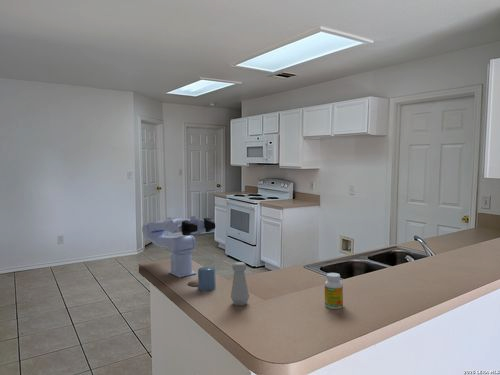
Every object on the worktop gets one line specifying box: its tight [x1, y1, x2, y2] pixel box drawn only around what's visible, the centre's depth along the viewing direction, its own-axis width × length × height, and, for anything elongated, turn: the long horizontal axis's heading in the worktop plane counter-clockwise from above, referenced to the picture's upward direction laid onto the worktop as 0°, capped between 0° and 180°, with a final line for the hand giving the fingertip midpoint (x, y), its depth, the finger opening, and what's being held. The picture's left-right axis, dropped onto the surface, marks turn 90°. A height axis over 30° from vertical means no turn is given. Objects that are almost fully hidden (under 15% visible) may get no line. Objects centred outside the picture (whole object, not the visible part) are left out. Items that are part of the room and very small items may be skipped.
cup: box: [197, 266, 217, 292], centre depth 127 cm, size 6×6×7 cm
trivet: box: [187, 279, 198, 287], centre depth 133 cm, size 7×7×1 cm
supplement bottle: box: [324, 272, 344, 310], centre depth 107 cm, size 5×5×10 cm
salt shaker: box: [230, 261, 250, 307], centre depth 111 cm, size 6×6×13 cm
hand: (205, 226), depth 130 cm, fingers open, 7 cm apart
